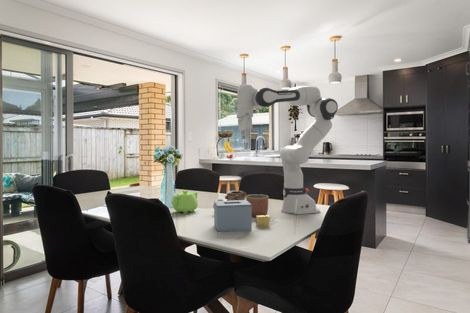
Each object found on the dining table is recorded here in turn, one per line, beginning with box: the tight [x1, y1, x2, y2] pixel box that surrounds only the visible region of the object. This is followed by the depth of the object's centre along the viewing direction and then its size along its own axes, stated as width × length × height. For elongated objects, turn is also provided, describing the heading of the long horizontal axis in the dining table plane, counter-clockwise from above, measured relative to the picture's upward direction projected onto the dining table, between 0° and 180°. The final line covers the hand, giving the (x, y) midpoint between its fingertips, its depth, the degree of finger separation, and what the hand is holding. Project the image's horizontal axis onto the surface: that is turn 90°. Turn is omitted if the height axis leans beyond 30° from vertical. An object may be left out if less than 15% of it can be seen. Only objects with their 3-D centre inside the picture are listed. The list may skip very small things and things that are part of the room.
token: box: [255, 214, 270, 228], centre depth 155 cm, size 6×2×5 cm, turn 100°
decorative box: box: [224, 190, 248, 201], centre depth 203 cm, size 13×20×10 cm, turn 153°
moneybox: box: [213, 199, 253, 233], centre depth 152 cm, size 16×12×12 cm
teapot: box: [171, 190, 199, 215], centre depth 188 cm, size 20×13×13 cm
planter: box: [245, 194, 269, 218], centre depth 177 cm, size 12×12×11 cm
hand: (245, 139), depth 177 cm, fingers open, 8 cm apart
